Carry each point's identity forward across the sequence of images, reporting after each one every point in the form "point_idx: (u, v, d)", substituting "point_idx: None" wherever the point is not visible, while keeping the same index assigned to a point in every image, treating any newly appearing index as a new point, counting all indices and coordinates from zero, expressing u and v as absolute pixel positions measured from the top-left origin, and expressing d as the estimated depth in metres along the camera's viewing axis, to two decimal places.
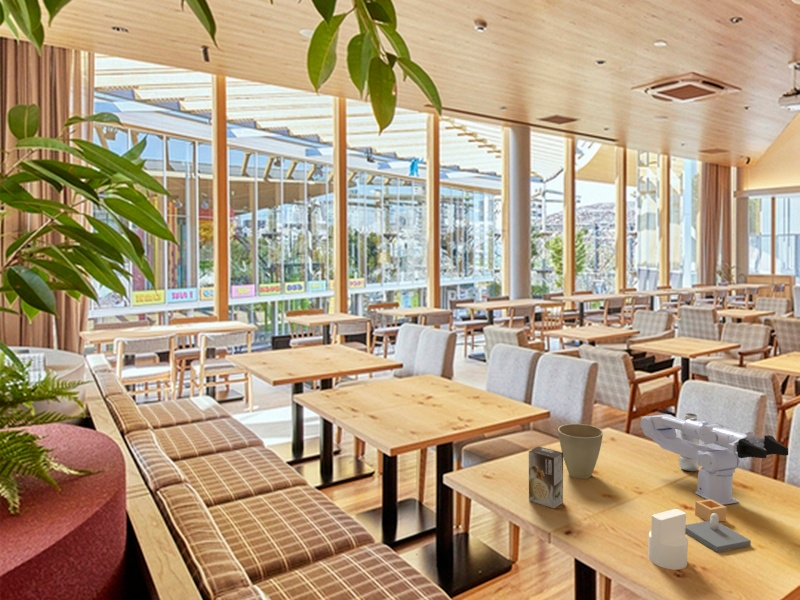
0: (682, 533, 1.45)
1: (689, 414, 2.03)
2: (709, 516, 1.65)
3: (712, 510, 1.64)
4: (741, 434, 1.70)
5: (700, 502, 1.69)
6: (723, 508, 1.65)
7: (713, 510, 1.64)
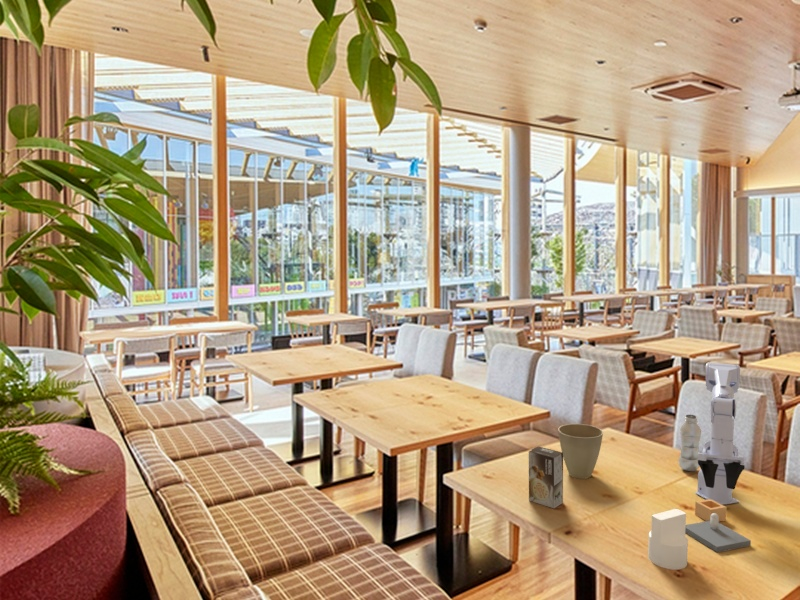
0: (682, 533, 1.45)
1: (689, 415, 2.00)
2: (709, 516, 1.65)
3: (712, 510, 1.64)
4: (726, 450, 1.63)
5: (700, 502, 1.69)
6: (723, 508, 1.65)
7: (713, 510, 1.64)
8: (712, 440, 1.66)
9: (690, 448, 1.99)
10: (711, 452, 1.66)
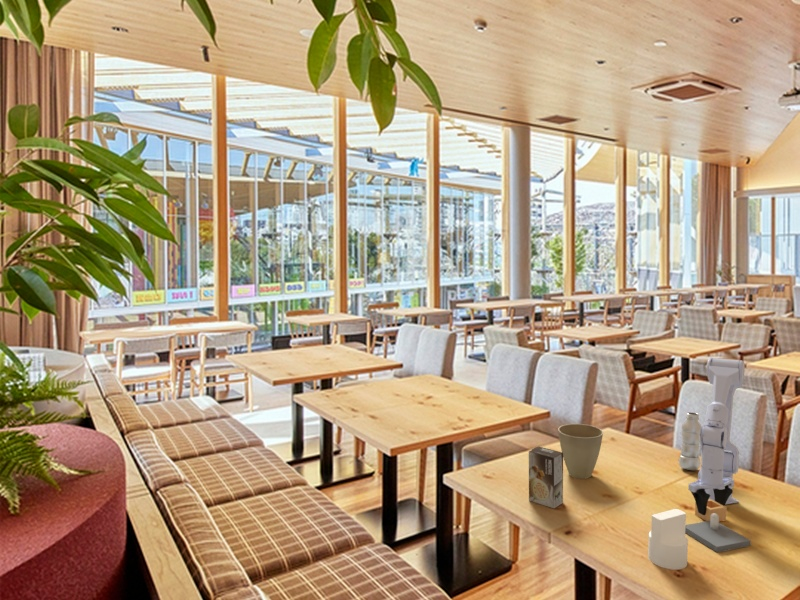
0: (682, 533, 1.45)
1: (691, 413, 2.04)
2: (709, 516, 1.65)
3: (712, 510, 1.64)
4: (716, 480, 1.64)
5: None
6: (723, 508, 1.65)
7: (713, 510, 1.64)
8: (702, 469, 1.66)
9: (690, 445, 2.01)
10: (701, 480, 1.67)
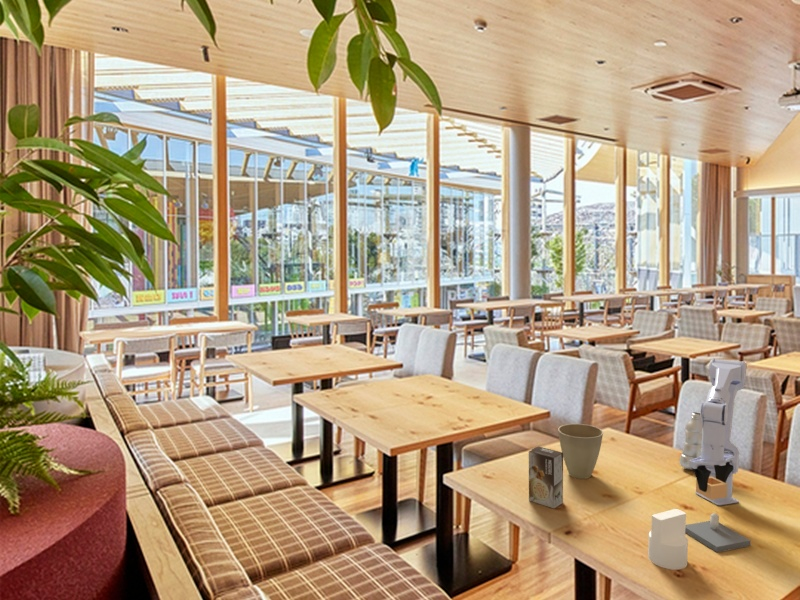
0: (682, 533, 1.45)
1: (697, 413, 2.04)
2: (710, 493, 1.64)
3: (713, 487, 1.64)
4: (717, 456, 1.63)
5: None
6: (724, 484, 1.65)
7: (714, 487, 1.64)
8: (703, 445, 1.66)
9: (693, 444, 2.01)
10: (702, 456, 1.66)
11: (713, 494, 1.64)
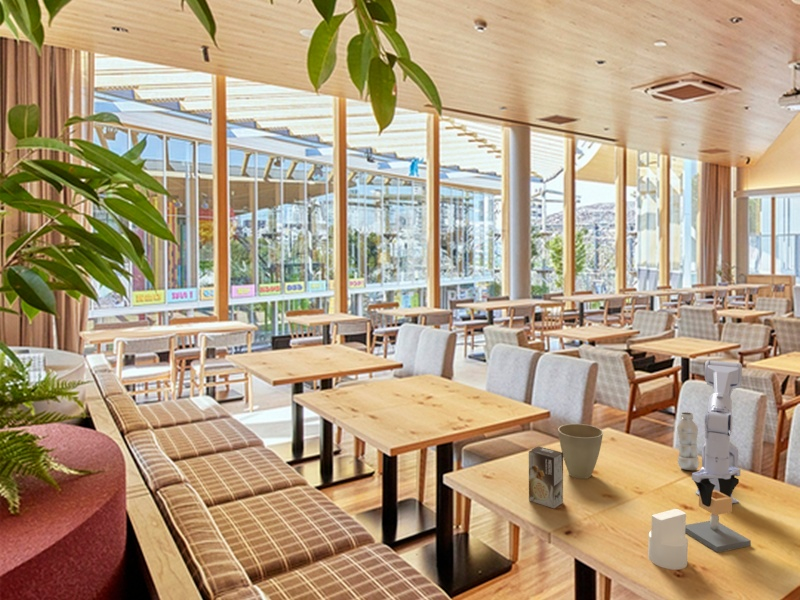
0: (682, 533, 1.45)
1: (686, 413, 2.04)
2: (714, 507, 1.55)
3: (717, 501, 1.54)
4: (722, 469, 1.54)
5: None
6: (728, 499, 1.55)
7: (718, 501, 1.54)
8: (706, 457, 1.56)
9: (687, 445, 2.01)
10: (705, 469, 1.57)
11: (717, 509, 1.55)
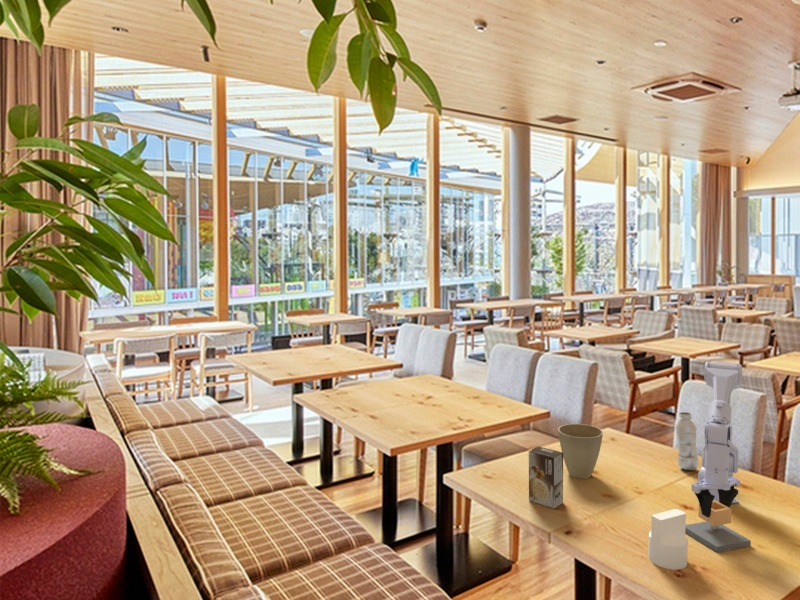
0: (682, 533, 1.45)
1: (684, 413, 2.04)
2: (714, 518, 1.55)
3: (717, 512, 1.55)
4: (721, 480, 1.54)
5: None
6: (728, 509, 1.56)
7: (718, 512, 1.55)
8: (706, 468, 1.57)
9: (686, 445, 2.01)
10: (705, 480, 1.57)
11: (717, 520, 1.55)
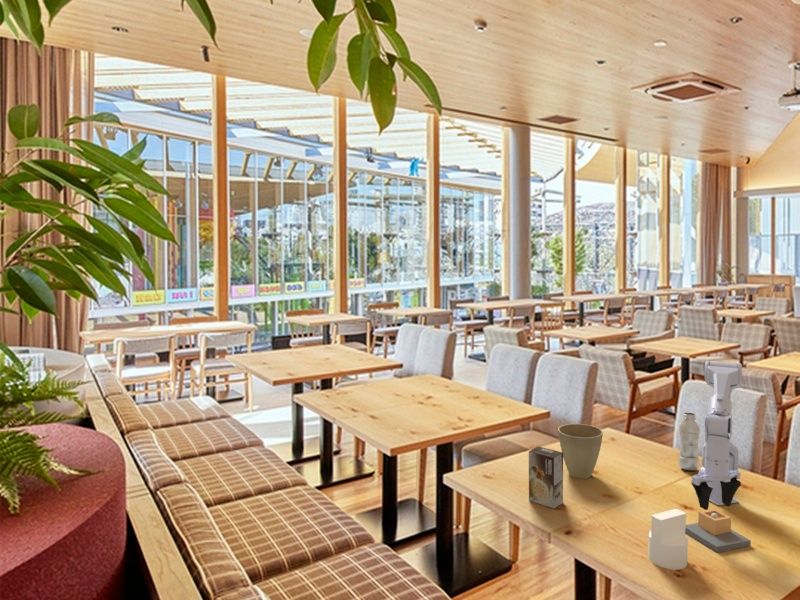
0: (682, 533, 1.45)
1: (689, 413, 2.04)
2: (713, 527, 1.55)
3: (717, 521, 1.55)
4: (722, 472, 1.54)
5: (703, 512, 1.59)
6: (728, 518, 1.56)
7: (718, 521, 1.55)
8: (706, 460, 1.56)
9: (688, 445, 2.01)
10: (705, 472, 1.57)
11: (716, 529, 1.55)
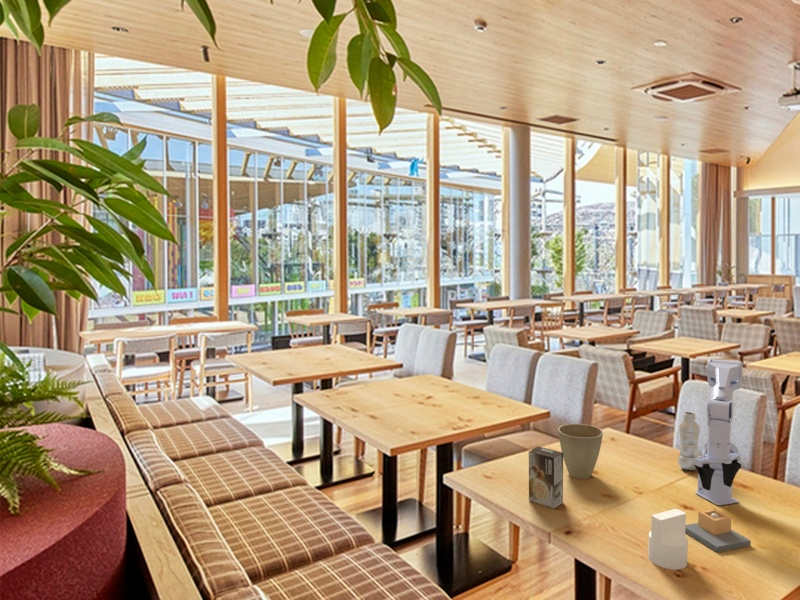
0: (682, 533, 1.45)
1: (689, 413, 2.04)
2: (713, 527, 1.55)
3: (717, 521, 1.55)
4: (723, 454, 1.63)
5: (703, 512, 1.59)
6: (728, 518, 1.56)
7: (718, 521, 1.55)
8: (709, 443, 1.65)
9: (687, 444, 2.01)
10: (708, 454, 1.66)
11: (716, 529, 1.55)
